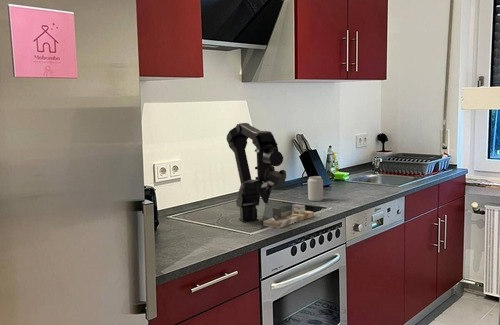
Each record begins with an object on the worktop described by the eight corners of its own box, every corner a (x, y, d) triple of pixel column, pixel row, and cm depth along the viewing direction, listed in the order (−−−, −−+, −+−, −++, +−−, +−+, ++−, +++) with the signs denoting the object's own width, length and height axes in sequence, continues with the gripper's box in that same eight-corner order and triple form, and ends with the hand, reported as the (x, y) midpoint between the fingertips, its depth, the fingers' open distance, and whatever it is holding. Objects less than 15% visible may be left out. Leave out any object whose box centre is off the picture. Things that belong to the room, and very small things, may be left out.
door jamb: (278, 228, 194) (278, 223, 193) (263, 225, 199) (263, 220, 199) (313, 216, 211) (313, 211, 211) (298, 214, 217) (298, 209, 216)
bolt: (278, 220, 197) (278, 208, 197) (272, 219, 199) (272, 208, 199) (293, 215, 205) (293, 204, 204) (287, 214, 207) (287, 203, 206)
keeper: (300, 214, 207) (300, 206, 207) (291, 213, 210) (291, 205, 210) (305, 213, 209) (304, 205, 209) (296, 211, 212) (295, 204, 212)
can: (325, 199, 247) (325, 175, 245) (319, 202, 240) (319, 178, 239) (311, 198, 251) (311, 175, 249) (305, 201, 244) (305, 177, 243)
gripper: (264, 168, 179) (266, 209, 181) (295, 162, 193) (296, 201, 195) (242, 166, 187) (244, 206, 189) (273, 160, 200) (274, 198, 202)
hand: (265, 203), depth 193 cm, fingers closed
